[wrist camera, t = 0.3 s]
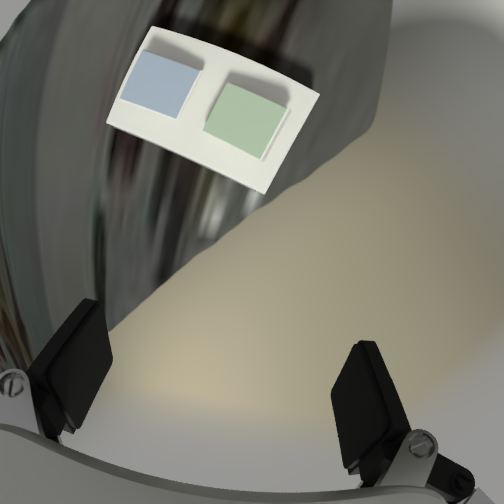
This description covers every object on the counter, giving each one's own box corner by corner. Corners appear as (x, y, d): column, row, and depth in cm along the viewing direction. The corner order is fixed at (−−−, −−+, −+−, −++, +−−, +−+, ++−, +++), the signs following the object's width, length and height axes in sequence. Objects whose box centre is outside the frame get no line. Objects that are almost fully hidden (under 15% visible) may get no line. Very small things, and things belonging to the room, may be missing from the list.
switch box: (164, 36, 29) (149, 23, 23) (312, 98, 32) (321, 93, 27) (123, 123, 34) (101, 124, 28) (263, 187, 37) (263, 198, 32)
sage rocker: (232, 84, 27) (226, 80, 25) (291, 111, 27) (289, 107, 25) (207, 132, 29) (200, 131, 28) (264, 161, 29) (259, 161, 27)
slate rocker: (144, 50, 24) (141, 48, 22) (202, 72, 27) (202, 70, 25) (121, 99, 26) (116, 99, 24) (177, 119, 29) (176, 121, 27)
